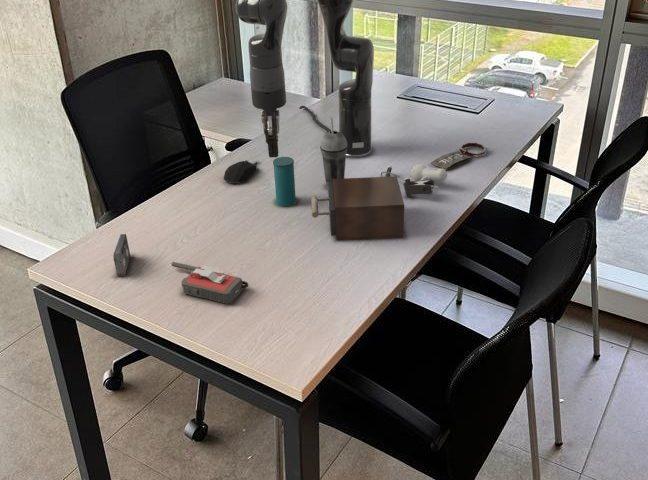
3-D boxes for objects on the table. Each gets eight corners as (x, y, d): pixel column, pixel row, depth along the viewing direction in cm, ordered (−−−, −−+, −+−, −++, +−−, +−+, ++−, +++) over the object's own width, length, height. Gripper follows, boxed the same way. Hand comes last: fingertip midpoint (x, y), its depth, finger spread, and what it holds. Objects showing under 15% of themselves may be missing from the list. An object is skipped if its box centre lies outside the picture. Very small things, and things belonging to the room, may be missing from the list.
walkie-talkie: (254, 284, 156) (175, 266, 163) (252, 267, 154) (172, 249, 161) (234, 307, 150) (152, 287, 156) (231, 289, 147) (149, 270, 154)
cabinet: (336, 240, 171) (335, 207, 166) (333, 210, 184) (332, 178, 179) (403, 237, 171) (404, 204, 167) (396, 207, 184) (396, 176, 179)
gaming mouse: (266, 164, 207) (265, 152, 205) (239, 187, 196) (238, 173, 194) (247, 161, 209) (246, 148, 207) (219, 183, 198) (217, 169, 196)
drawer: (312, 236, 171) (311, 211, 167) (311, 208, 182) (310, 184, 179) (393, 233, 171) (393, 207, 168) (387, 205, 183) (387, 181, 179)
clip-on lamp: (373, 196, 196) (430, 201, 184) (368, 175, 193) (425, 178, 181) (397, 176, 203) (453, 179, 192) (392, 155, 200) (448, 157, 189)
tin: (275, 207, 186) (272, 165, 180) (276, 197, 190) (273, 157, 184) (296, 206, 186) (293, 164, 180) (296, 196, 190) (293, 156, 184)
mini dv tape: (123, 256, 167) (119, 234, 164) (130, 256, 167) (125, 233, 164) (117, 276, 160) (112, 253, 157) (124, 276, 160) (119, 253, 157)
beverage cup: (352, 182, 197) (351, 111, 186) (343, 194, 191) (342, 122, 180) (326, 178, 199) (324, 109, 188) (317, 190, 193) (314, 119, 182)
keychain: (426, 163, 205) (426, 157, 204) (471, 144, 216) (471, 138, 215) (447, 172, 200) (447, 166, 199) (491, 152, 211) (492, 146, 210)
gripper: (252, 74, 165) (258, 145, 174) (249, 95, 154) (256, 169, 163) (285, 73, 165) (290, 143, 175) (284, 93, 154) (289, 167, 163)
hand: (273, 156), depth 169 cm, fingers closed
